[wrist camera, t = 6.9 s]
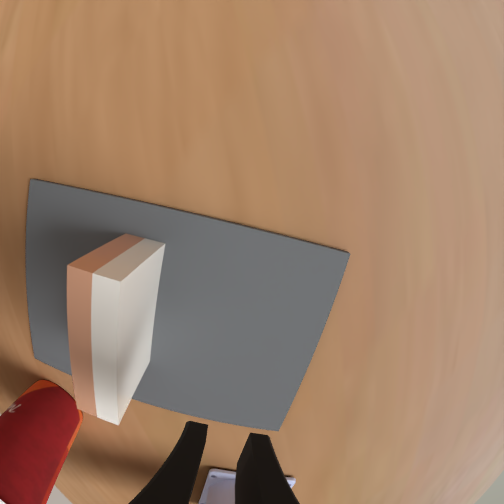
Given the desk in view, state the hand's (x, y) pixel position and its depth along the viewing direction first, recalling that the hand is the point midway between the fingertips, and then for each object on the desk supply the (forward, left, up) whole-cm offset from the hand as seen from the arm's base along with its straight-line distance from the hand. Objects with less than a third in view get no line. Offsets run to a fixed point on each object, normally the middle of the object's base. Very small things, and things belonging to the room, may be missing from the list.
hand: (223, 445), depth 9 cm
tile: (0, +6, -8) cm, 10 cm away
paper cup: (-13, +14, -9) cm, 21 cm away
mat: (-1, +5, -9) cm, 10 cm away
